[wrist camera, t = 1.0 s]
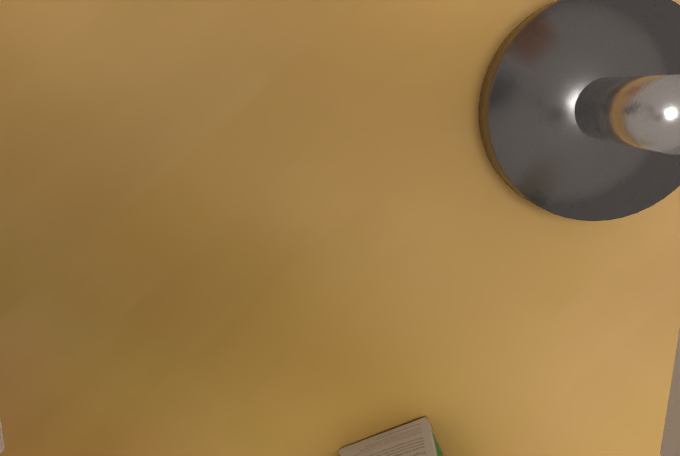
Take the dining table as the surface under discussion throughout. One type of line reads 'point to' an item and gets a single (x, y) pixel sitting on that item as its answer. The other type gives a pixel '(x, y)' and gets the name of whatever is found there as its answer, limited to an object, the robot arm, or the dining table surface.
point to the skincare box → (398, 442)
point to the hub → (587, 107)
